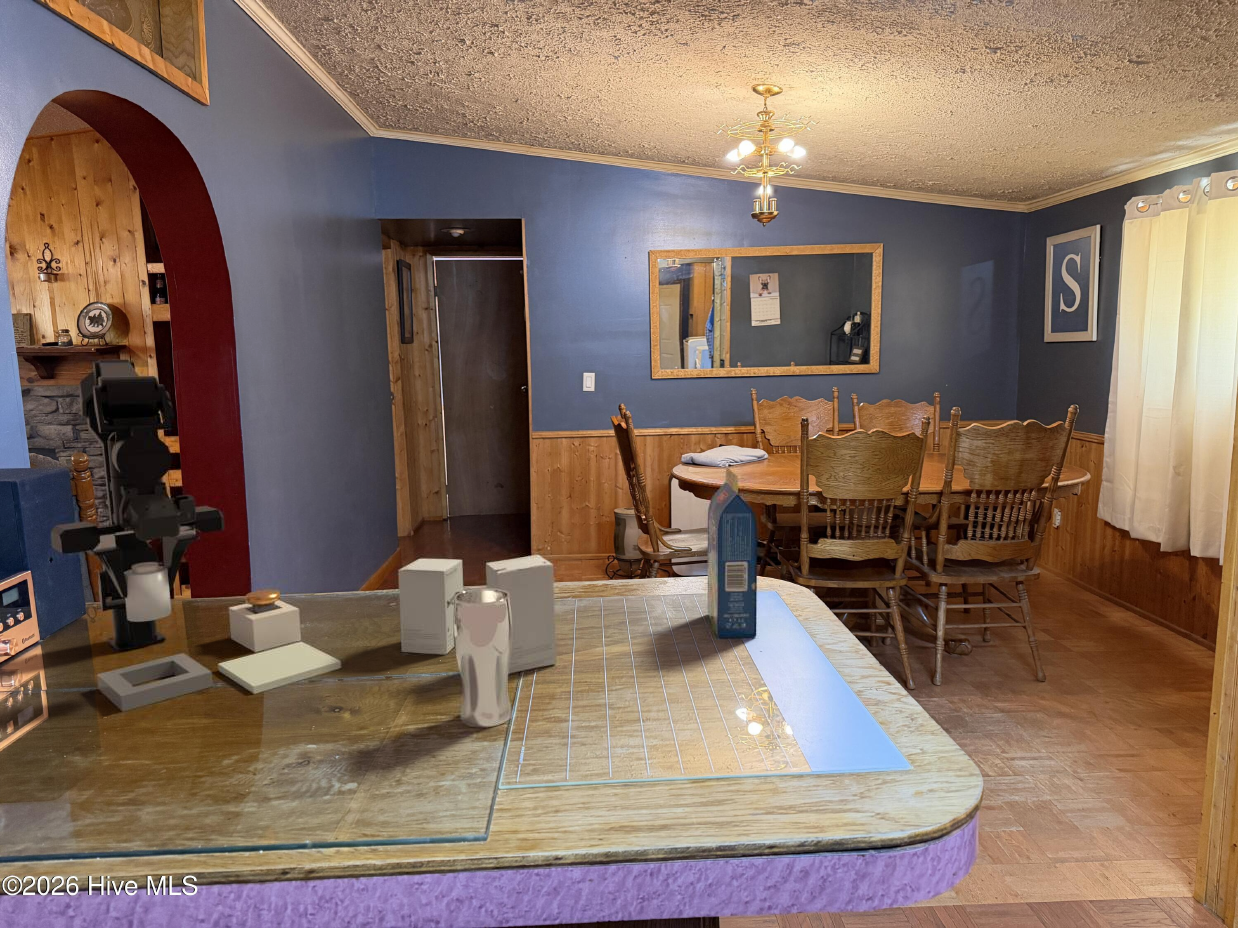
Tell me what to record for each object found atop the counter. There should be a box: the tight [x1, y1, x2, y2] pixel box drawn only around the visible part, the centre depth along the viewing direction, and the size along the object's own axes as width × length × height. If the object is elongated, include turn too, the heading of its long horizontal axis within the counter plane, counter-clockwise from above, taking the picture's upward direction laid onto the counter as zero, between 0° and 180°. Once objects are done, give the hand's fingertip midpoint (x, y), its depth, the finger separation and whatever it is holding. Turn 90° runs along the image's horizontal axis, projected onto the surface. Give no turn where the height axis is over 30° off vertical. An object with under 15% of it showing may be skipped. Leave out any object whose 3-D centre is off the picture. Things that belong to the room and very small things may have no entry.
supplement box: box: [397, 558, 464, 655], centre depth 122 cm, size 7×7×13 cm
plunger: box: [245, 589, 281, 614], centre depth 126 cm, size 5×5×6 cm
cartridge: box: [124, 562, 172, 622], centre depth 106 cm, size 5×5×7 cm
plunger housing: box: [228, 599, 302, 653], centre depth 126 cm, size 9×7×5 cm
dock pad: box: [217, 641, 342, 695], centre depth 114 cm, size 12×12×1 cm
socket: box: [96, 652, 214, 712], centre depth 108 cm, size 11×11×2 cm
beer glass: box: [453, 587, 513, 729], centre depth 97 cm, size 7×7×15 cm
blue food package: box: [707, 465, 758, 639], centre depth 128 cm, size 6×12×25 cm, turn 1°
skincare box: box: [485, 554, 558, 675], centre depth 113 cm, size 8×6×15 cm
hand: (147, 592), depth 106 cm, fingers closed on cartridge, 5 cm apart
